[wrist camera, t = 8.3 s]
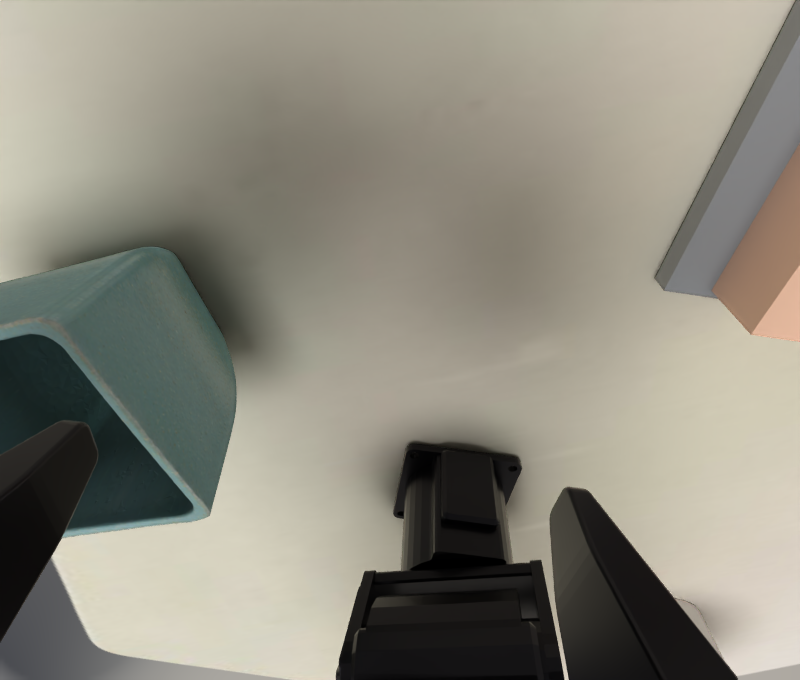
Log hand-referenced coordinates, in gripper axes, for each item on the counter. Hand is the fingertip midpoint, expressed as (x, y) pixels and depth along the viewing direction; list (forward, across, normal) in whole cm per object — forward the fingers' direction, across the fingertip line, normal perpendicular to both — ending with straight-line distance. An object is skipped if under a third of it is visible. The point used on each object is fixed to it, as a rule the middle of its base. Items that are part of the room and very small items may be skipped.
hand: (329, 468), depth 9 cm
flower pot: (+13, +10, +6) cm, 17 cm away
